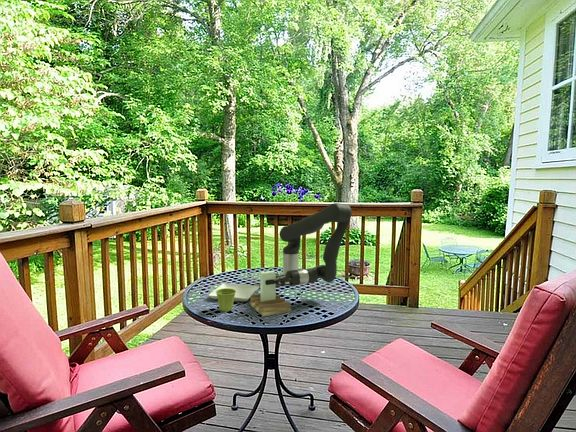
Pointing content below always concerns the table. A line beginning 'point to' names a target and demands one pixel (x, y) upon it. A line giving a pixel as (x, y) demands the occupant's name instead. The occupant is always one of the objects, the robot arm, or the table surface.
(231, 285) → the salad plate
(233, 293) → the plant pot
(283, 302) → the drying rack
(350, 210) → the robot arm
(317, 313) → the table surface
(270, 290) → the pale green block
